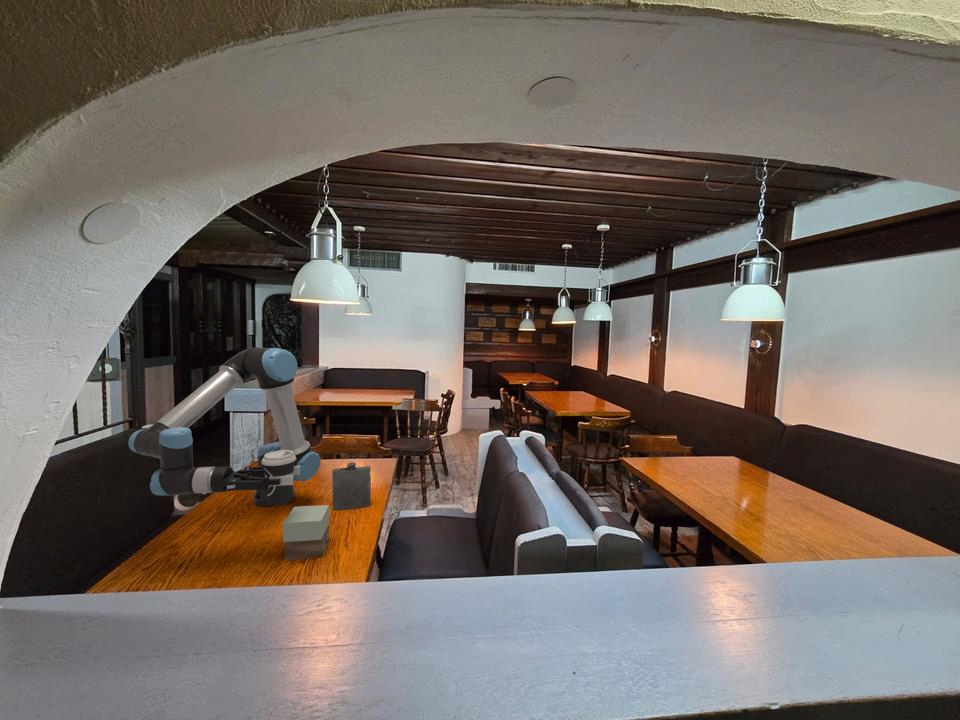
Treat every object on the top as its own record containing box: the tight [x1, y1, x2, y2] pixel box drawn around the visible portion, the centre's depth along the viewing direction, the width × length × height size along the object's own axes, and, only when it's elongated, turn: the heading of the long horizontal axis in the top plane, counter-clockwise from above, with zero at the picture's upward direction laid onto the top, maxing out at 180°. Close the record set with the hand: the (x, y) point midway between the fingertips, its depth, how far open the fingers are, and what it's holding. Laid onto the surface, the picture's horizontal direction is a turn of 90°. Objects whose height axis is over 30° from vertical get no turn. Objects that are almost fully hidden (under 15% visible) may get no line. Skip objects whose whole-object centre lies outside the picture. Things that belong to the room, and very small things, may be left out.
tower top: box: [282, 504, 330, 543], centre depth 124 cm, size 11×11×6 cm
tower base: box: [283, 523, 330, 561], centre depth 125 cm, size 11×11×6 cm
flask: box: [331, 462, 372, 511], centre depth 154 cm, size 4×14×18 cm, turn 106°
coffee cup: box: [261, 450, 296, 507], centre depth 121 cm, size 10×10×15 cm
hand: (296, 475), depth 121 cm, fingers closed on coffee cup, 7 cm apart
